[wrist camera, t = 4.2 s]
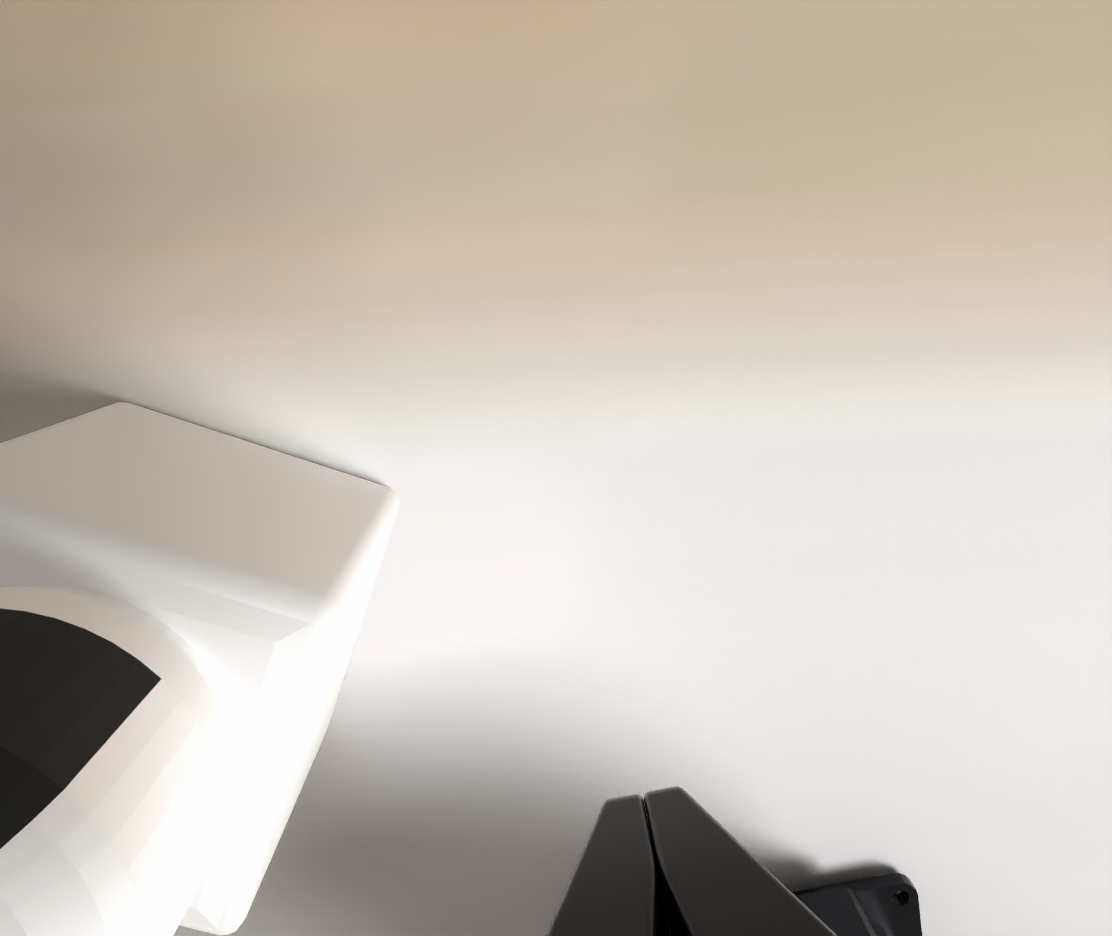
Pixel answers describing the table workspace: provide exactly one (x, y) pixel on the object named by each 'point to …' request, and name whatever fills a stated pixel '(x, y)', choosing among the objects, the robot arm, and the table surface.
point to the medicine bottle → (165, 664)
